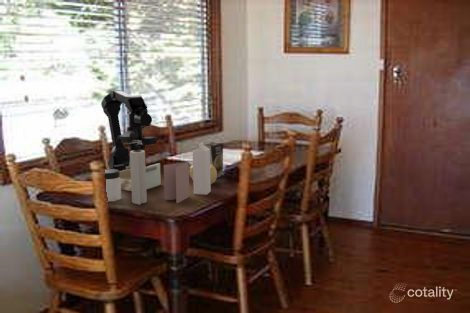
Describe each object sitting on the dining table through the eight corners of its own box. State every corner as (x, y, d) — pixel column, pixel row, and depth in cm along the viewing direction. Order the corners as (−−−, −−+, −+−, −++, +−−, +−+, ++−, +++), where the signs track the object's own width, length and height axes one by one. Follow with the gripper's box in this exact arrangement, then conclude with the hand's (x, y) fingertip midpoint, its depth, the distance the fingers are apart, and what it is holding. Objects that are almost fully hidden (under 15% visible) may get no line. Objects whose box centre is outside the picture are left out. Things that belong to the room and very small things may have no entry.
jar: (123, 200, 245) (122, 172, 243) (103, 202, 241) (102, 174, 239) (117, 195, 253) (116, 168, 251) (98, 198, 249) (97, 170, 247)
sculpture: (186, 186, 269) (186, 162, 267) (199, 180, 280) (199, 158, 278) (209, 188, 264) (208, 164, 262) (221, 182, 275) (220, 160, 273)
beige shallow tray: (113, 188, 266) (112, 173, 264) (135, 181, 279) (135, 167, 278) (137, 192, 259) (136, 176, 258) (159, 184, 272) (159, 169, 271)
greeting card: (188, 196, 250) (187, 161, 247) (196, 200, 244) (196, 164, 241) (163, 200, 244) (162, 164, 241) (172, 204, 238) (170, 167, 235)
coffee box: (213, 179, 283) (213, 145, 280) (202, 177, 286) (201, 144, 283) (223, 175, 290) (223, 143, 287) (213, 174, 294) (212, 142, 291)
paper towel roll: (137, 199, 245) (134, 149, 242) (149, 201, 243) (147, 149, 239) (127, 204, 239) (125, 152, 235) (140, 205, 237) (138, 152, 233)
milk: (193, 194, 254) (191, 143, 250) (197, 190, 260) (196, 141, 256) (207, 194, 253) (205, 143, 249) (211, 191, 258) (209, 141, 254)
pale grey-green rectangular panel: (138, 191, 259) (137, 169, 257) (159, 184, 272) (158, 163, 270) (141, 191, 258) (140, 169, 257) (161, 184, 271) (161, 163, 269)
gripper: (107, 125, 261) (109, 160, 264) (140, 127, 252) (142, 163, 255) (124, 122, 271) (125, 156, 273) (156, 124, 261) (158, 159, 264)
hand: (137, 158), depth 266 cm, fingers closed
